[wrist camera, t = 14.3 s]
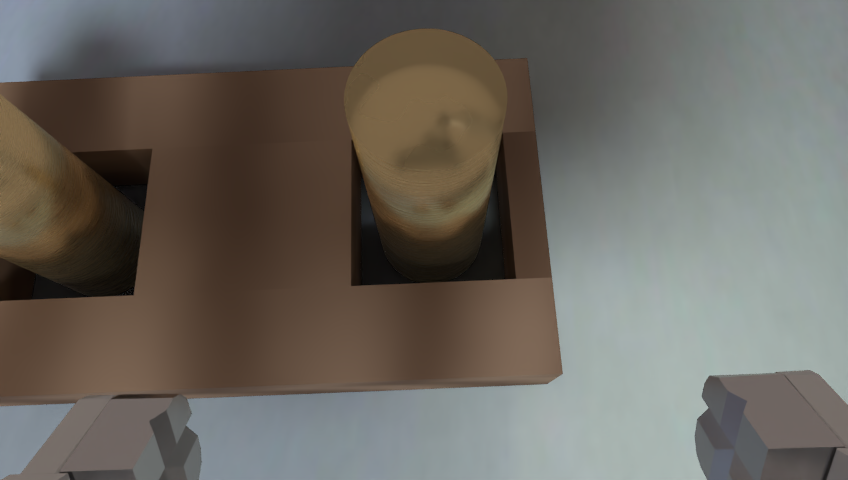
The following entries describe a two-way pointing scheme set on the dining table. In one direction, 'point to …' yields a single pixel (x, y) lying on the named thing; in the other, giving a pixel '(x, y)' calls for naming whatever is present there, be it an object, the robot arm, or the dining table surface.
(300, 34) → the dining table surface
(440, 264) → the loose billet
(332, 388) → the wooden socket block
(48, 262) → the seated billet
